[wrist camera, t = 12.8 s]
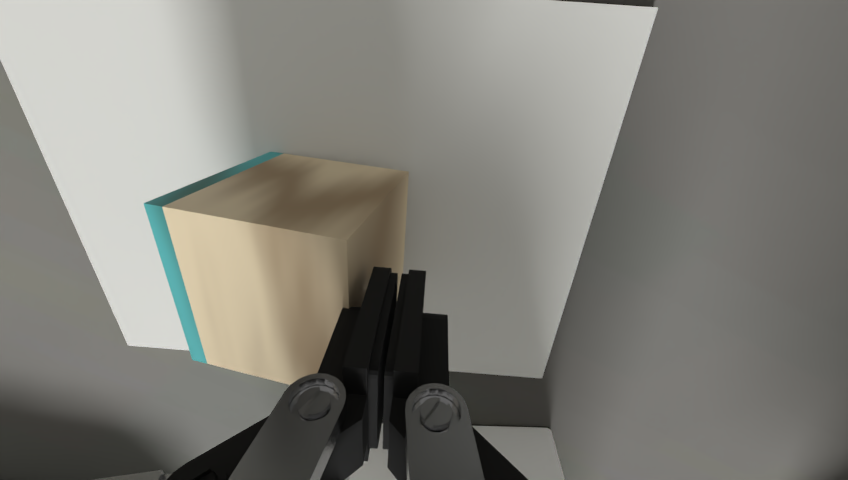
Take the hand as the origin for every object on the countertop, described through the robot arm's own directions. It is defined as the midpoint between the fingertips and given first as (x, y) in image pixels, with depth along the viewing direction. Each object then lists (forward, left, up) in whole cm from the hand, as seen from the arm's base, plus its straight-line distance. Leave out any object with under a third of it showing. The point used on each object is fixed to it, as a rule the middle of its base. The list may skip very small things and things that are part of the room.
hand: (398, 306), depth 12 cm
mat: (+4, 0, -6) cm, 7 cm away
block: (+1, 0, -2) cm, 2 cm away
